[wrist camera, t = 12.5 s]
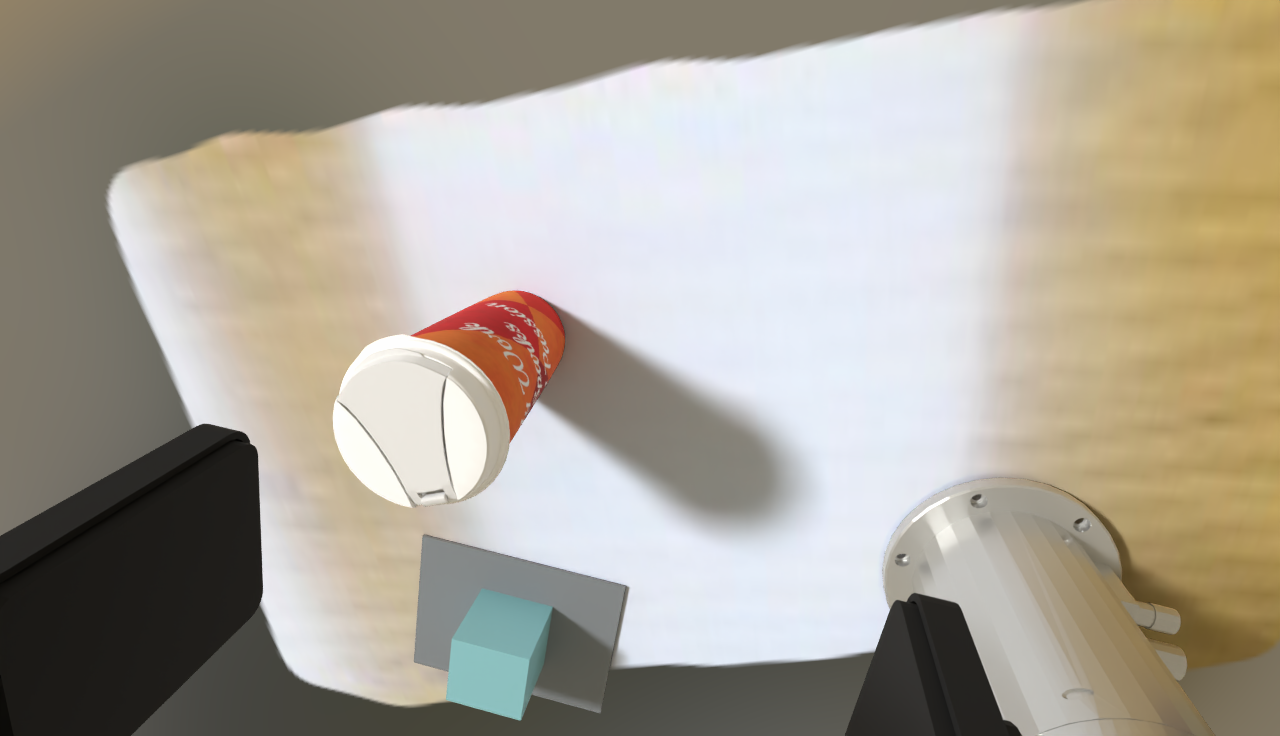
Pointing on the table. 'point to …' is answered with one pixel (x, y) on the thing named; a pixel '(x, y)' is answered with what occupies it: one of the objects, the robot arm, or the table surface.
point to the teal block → (498, 653)
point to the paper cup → (446, 399)
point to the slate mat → (577, 600)
